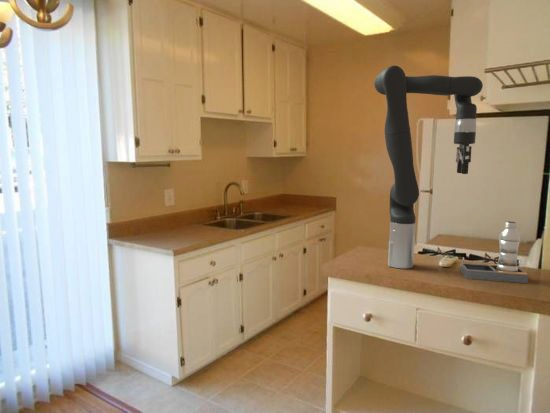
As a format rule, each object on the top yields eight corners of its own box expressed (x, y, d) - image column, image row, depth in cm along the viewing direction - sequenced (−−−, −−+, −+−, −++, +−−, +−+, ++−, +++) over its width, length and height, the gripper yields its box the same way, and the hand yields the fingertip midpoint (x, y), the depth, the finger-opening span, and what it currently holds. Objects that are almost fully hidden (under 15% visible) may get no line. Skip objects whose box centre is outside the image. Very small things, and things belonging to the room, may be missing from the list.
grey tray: (466, 278, 138) (467, 269, 138) (460, 270, 148) (460, 262, 148) (527, 283, 134) (528, 273, 133) (516, 274, 144) (517, 265, 143)
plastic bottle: (520, 281, 136) (525, 224, 134) (499, 279, 138) (503, 223, 135) (513, 275, 142) (518, 221, 140) (492, 274, 144) (497, 220, 141)
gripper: (451, 132, 160) (448, 172, 162) (458, 130, 146) (455, 174, 148) (471, 132, 158) (468, 173, 160) (480, 130, 145) (477, 174, 146)
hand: (462, 173), depth 154 cm, fingers open, 8 cm apart
